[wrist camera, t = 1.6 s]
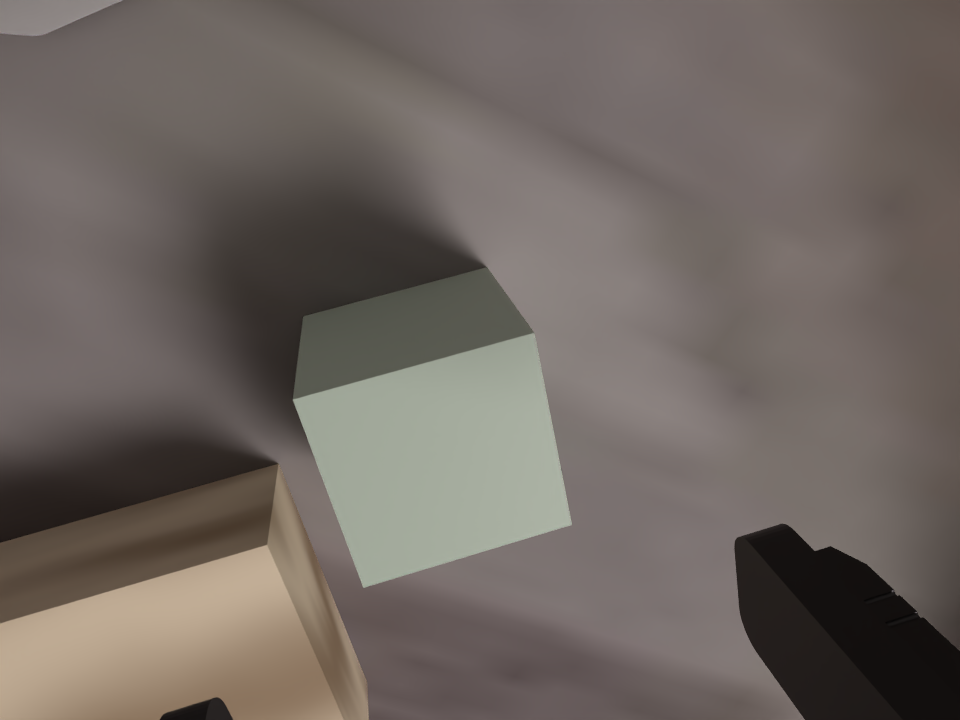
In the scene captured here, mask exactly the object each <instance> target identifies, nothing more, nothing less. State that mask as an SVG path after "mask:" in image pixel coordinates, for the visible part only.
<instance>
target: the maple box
mask: <svg viewBox="0 0 960 720" xmlns="http://www.w3.org/2000/svg"><path fill="white" fill-rule="evenodd" d="M215 697H218V698H220V699H222V701H223V702H224V703H225V705H226V707H227V709H228V710H229V712H230V714H231V716H232V718H233V720H369V714H368V694H367V681H366V679H365V676H364V674H363V671H362V669H361V666H360V664H359V661H358V659H357V656H356V654H355V652H354V649H353V647H352V644H351V642H350V639H349V637H348V634H347V632H346V629H345V627H344V624H343V622H342V619H341V617H340V614H339V612H338V609H337V607H336V604H335V602H334V600H333V597H332V595H331V592H330V590H329V587H328V585H327V582H326V580H325V577H324V575H323V572H322V570H321V567H320V565H319V562H318V560H317V557H316V555H315V552H314V550H313V548H312V545H311V543H310V540H309V538H308V535H307V533H306V530H305V528H304V525H303V523H302V520H301V518H300V515H299V513H298V510H297V508H296V505H295V503H294V500H293V498H292V496H291V493H290V491H289V488H288V486H287V483H286V481H285V478H284V476H283V473H282V471H281V468H280V466H279V464H276V465H272V466H268V467H265V468H261V469H258V470H254V471H251V472H247V473H244V474H240V475H237V476H233V477H230V478H226V479H223V480H219V481H216V482H212V483H209V484H205V485H202V486H198V487H195V488H191V489H188V490H184V491H181V492H177V493H174V494H170V495H167V496H163V497H160V498H156V499H152V500H149V501H145V502H142V503H138V504H135V505H131V506H128V507H124V508H121V509H117V510H114V511H110V512H107V513H103V514H100V515H96V516H93V517H89V518H86V519H82V520H79V521H75V522H72V523H68V524H65V525H61V526H58V527H54V528H51V529H47V530H43V531H40V532H36V533H33V534H29V535H26V536H22V537H19V538H15V539H12V540H8V541H5V542H1V543H0V720H160V718H161V717H162V715H163V714H165V713H166V712H170V711H173V710H176V709H179V708H183V707H186V706H189V705H192V704H196V703H199V702H202V701H205V700H208V699H212V698H215Z"/></svg>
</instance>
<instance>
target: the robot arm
mask: <svg viewBox="0 0 960 720" xmlns="http://www.w3.org/2000/svg"><path fill="white" fill-rule="evenodd" d="M735 560H736V573H737V585H738V598H739V609H740V615H741V619H742V623H743V625H744V628H745V631H746V633H747V635H748V638H749V640H750V642H751V644H752V645H753V647H754V649H755V650H756V652H757V653H758V655H759V656H760V658H761V659H762V660H763V662H764V663H765V665H766V666H767V667H768V669H769V670H770V672H771V673H772V674H773V676H774V677H775V679H776V680H777V681H778V683H779V684H780V685H781V687H782V688H783V690H784V691H785V692H786V694H787V695H788V697H789V698H790V699H791V701H792V702H793V704H794V705H795V706H796V708H797V709H798V711H799V712H800V713H801V715H802V716H803V718H804V719H805V720H960V651H959V650H958V649H956V648H955V647H954V646H953V645H952V644H951V643H950V642H949V641H948V640H947V639H946V638H945V637H944V636H943V635H942V634H940V633H939V632H938V631H937V630H936V629H935V628H934V627H933V626H932V625H931V624H930V623H929V622H928V621H927V620H926V619H924V618H920V617H919V616H918V613H917V611H916V610H915V609H914V608H913V607H912V606H911V605H910V604H908V603H907V602H906V601H905V600H904V599H903V598H902V597H901V596H900V595H899V596H897V595H896V594H895V592H894V589H892V588H891V587H890V586H889V585H888V584H887V583H886V582H885V581H884V580H883V579H882V578H881V577H880V576H879V575H878V574H876V573H875V572H874V571H873V570H872V569H871V568H870V567H869V566H868V565H867V564H865V563H863V562H861V561H859V560H857V559H855V558H853V557H851V556H849V555H847V554H845V553H843V552H841V551H839V550H837V549H835V548H833V547H831V546H830V547H827V548H824V549H821V550H818V551H814V550H813V549H812V548H811V547H810V546H809V545H808V544H807V543H806V542H805V541H804V540H803V539H802V538H801V537H800V536H799V535H798V534H797V533H796V532H795V531H794V530H793V529H792V528H791V527H789V526H788V525H786V524H779V525H776V526H773V527H770V528H767V529H763V530H760V531H757V532H754V533H750V534H747V535H744V536H741V537H738V538H737V539H736V540H735ZM160 720H233V718H232V716H231V714H230V712H229V710H228V709H227V707H226V705H225V703H224V702H223V701H222V699H220V698H218V697H215V698H212V699H208V700H205V701H202V702H199V703H196V704H192V705H189V706H186V707H183V708H179V709H176V710H173V711H170V712H166V713H165V714H163V715H162V717H161V718H160Z"/></svg>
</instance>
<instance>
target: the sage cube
mask: <svg viewBox="0 0 960 720" xmlns="http://www.w3.org/2000/svg"><path fill="white" fill-rule="evenodd" d="M293 402H294V404H295V407H296V410H297V412H298V415H299V418H300V420H301V423H302V426H303V428H304V431H305V433H306V436H307V439H308V441H309V444H310V447H311V449H312V452H313V455H314V457H315V460H316V463H317V465H318V468H319V471H320V473H321V476H322V479H323V481H324V484H325V487H326V489H327V492H328V495H329V497H330V500H331V503H332V505H333V508H334V511H335V513H336V516H337V519H338V521H339V524H340V526H341V529H342V532H343V534H344V537H345V540H346V542H347V545H348V548H349V550H350V553H351V556H352V558H353V561H354V564H355V566H356V569H357V572H358V574H359V577H360V580H361V582H362V585H363V588H364V587H368V586H371V585H374V584H377V583H381V582H384V581H387V580H391V579H394V578H397V577H401V576H404V575H407V574H411V573H414V572H417V571H421V570H424V569H427V568H430V567H434V566H437V565H440V564H444V563H447V562H450V561H454V560H457V559H460V558H464V557H467V556H470V555H473V554H477V553H480V552H483V551H487V550H490V549H493V548H497V547H500V546H503V545H507V544H510V543H513V542H517V541H520V540H523V539H526V538H530V537H533V536H536V535H540V534H543V533H546V532H550V531H553V530H556V529H560V528H563V527H566V526H569V525H572V523H571V518H570V513H569V508H568V502H567V497H566V492H565V487H564V482H563V477H562V472H561V467H560V462H559V457H558V451H557V446H556V441H555V436H554V431H553V426H552V421H551V416H550V411H549V406H548V400H547V395H546V390H545V385H544V380H543V375H542V370H541V365H540V360H539V355H538V349H537V344H536V339H535V334H534V332H533V330H532V329H531V328H530V326H529V325H528V323H527V322H526V321H525V319H524V318H523V316H522V315H521V314H520V312H519V311H518V310H517V308H516V307H515V305H514V304H513V303H512V301H511V300H510V298H509V297H508V296H507V294H506V293H505V292H504V290H503V289H502V287H501V286H500V285H499V283H498V282H497V280H496V279H495V278H494V276H493V275H492V273H491V272H490V271H489V269H488V268H487V267H486V268H482V269H478V270H475V271H471V272H467V273H463V274H460V275H456V276H452V277H448V278H445V279H441V280H437V281H434V282H430V283H426V284H422V285H419V286H415V287H411V288H407V289H404V290H400V291H396V292H392V293H389V294H385V295H381V296H377V297H374V298H370V299H366V300H363V301H359V302H355V303H351V304H348V305H344V306H340V307H336V308H333V309H329V310H325V311H321V312H318V313H314V314H310V315H306V316H303V322H302V330H301V338H300V346H299V354H298V362H297V370H296V378H295V386H294V394H293Z"/></svg>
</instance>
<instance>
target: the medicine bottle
mask: <svg viewBox="0 0 960 720" xmlns="http://www.w3.org/2000/svg"><path fill="white" fill-rule="evenodd" d="M120 1H122V0H0V34H13V35H26V36H39V35H45V34H47V33H49V32H52V31H54V30H56V29H58V28H61V27H63V26H65V25H68V24H70V23H72V22H74V21H77V20H79V19H81V18H83V17H86V16H88V15H90V14H93V13H95V12H97V11H99V10H102V9H104V8H106V7H108V6H111V5H113V4H115V3H118V2H120Z"/></svg>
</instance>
